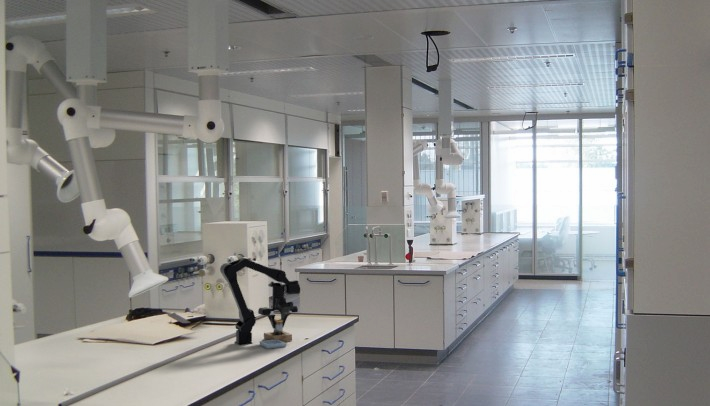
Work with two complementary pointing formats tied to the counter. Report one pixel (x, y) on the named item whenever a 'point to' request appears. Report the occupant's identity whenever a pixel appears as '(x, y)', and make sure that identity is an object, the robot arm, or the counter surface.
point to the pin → (278, 327)
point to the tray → (272, 344)
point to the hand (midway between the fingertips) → (278, 327)
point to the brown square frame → (278, 336)
